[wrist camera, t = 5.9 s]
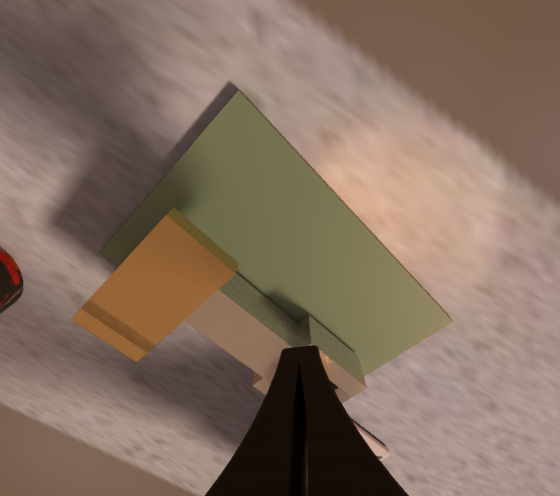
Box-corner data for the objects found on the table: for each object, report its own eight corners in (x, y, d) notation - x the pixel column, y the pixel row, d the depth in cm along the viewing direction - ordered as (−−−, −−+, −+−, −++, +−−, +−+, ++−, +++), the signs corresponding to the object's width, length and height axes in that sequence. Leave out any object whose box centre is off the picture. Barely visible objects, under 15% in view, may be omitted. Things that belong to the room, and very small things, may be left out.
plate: (309, 402, 25) (309, 409, 25) (104, 248, 20) (99, 252, 19) (449, 315, 21) (453, 321, 21) (240, 90, 16) (238, 89, 15)
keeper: (164, 313, 21) (136, 362, 17) (113, 275, 20) (71, 319, 16) (247, 236, 19) (235, 273, 15) (193, 187, 17) (166, 214, 14)
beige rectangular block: (358, 356, 22) (366, 387, 20) (305, 391, 24) (307, 424, 21) (198, 222, 18) (185, 241, 16) (149, 275, 20) (129, 300, 17)
